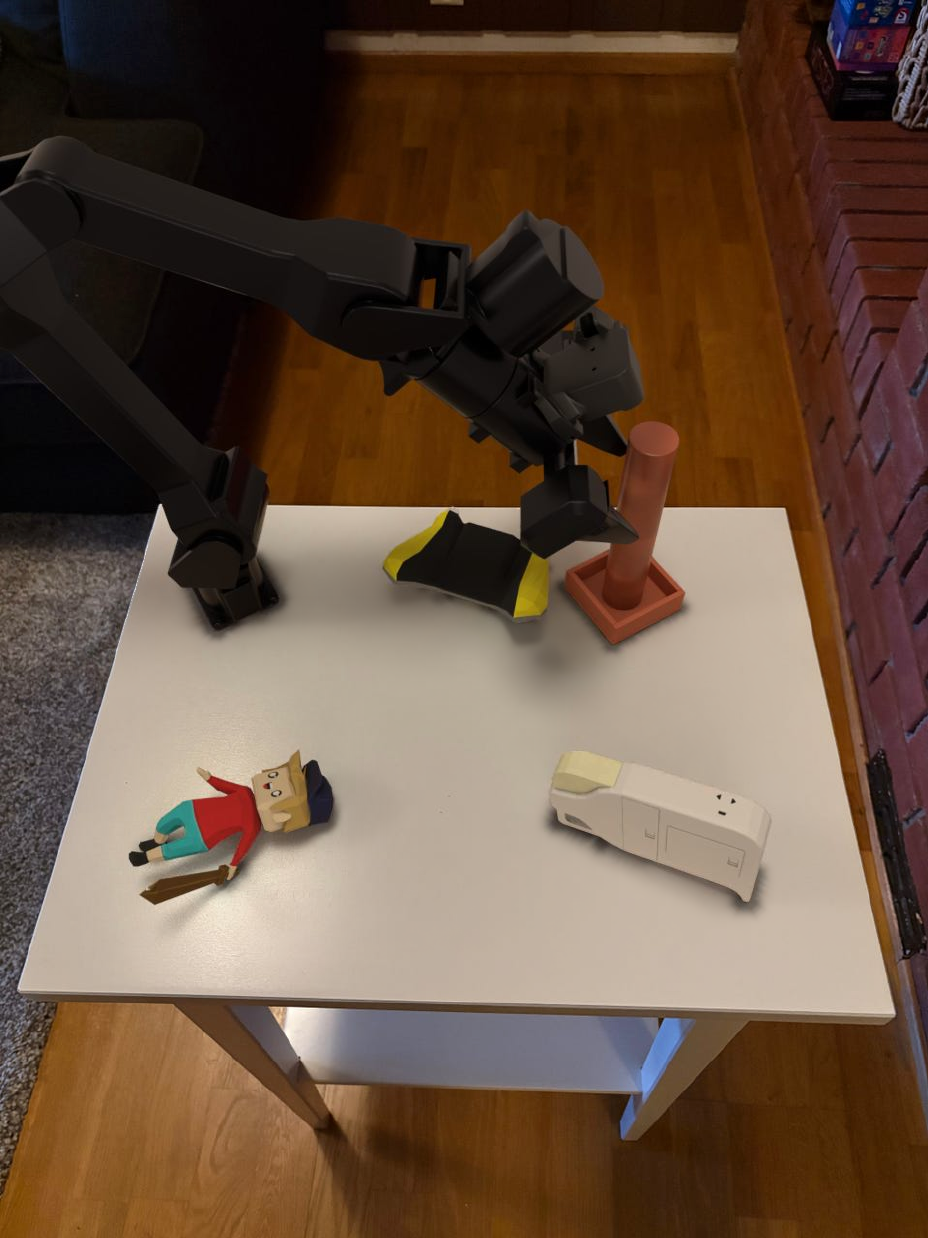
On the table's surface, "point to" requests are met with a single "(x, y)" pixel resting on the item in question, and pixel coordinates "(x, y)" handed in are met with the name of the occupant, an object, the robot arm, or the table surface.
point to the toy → (235, 821)
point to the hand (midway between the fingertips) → (629, 494)
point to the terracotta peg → (640, 510)
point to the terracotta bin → (620, 624)
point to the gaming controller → (473, 567)
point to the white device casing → (663, 817)
